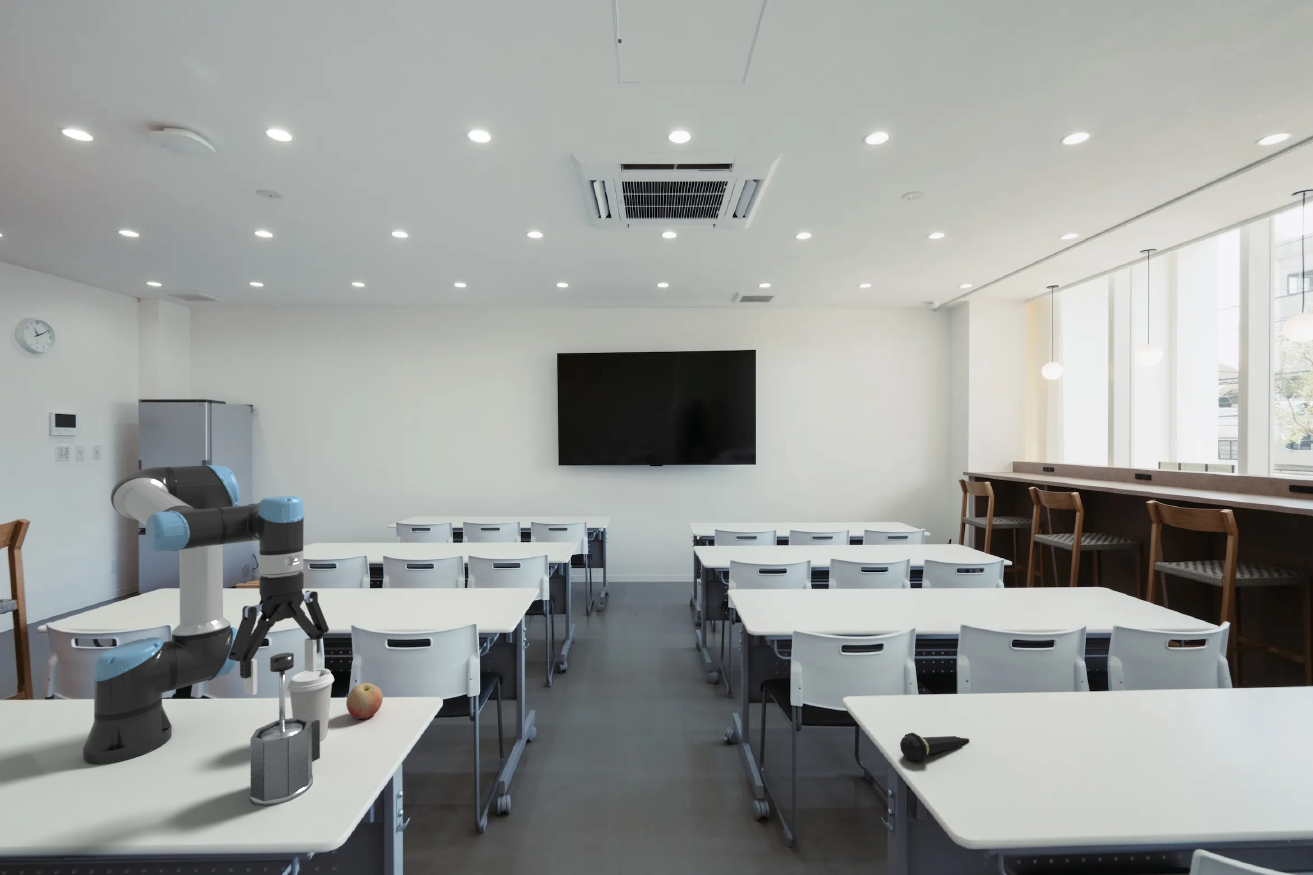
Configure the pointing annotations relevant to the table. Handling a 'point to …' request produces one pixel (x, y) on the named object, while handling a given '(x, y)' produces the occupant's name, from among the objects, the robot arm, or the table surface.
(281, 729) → the plunger
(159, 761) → the table surface
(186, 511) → the robot arm
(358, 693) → the fruit
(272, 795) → the press carafe
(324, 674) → the coffee cup
